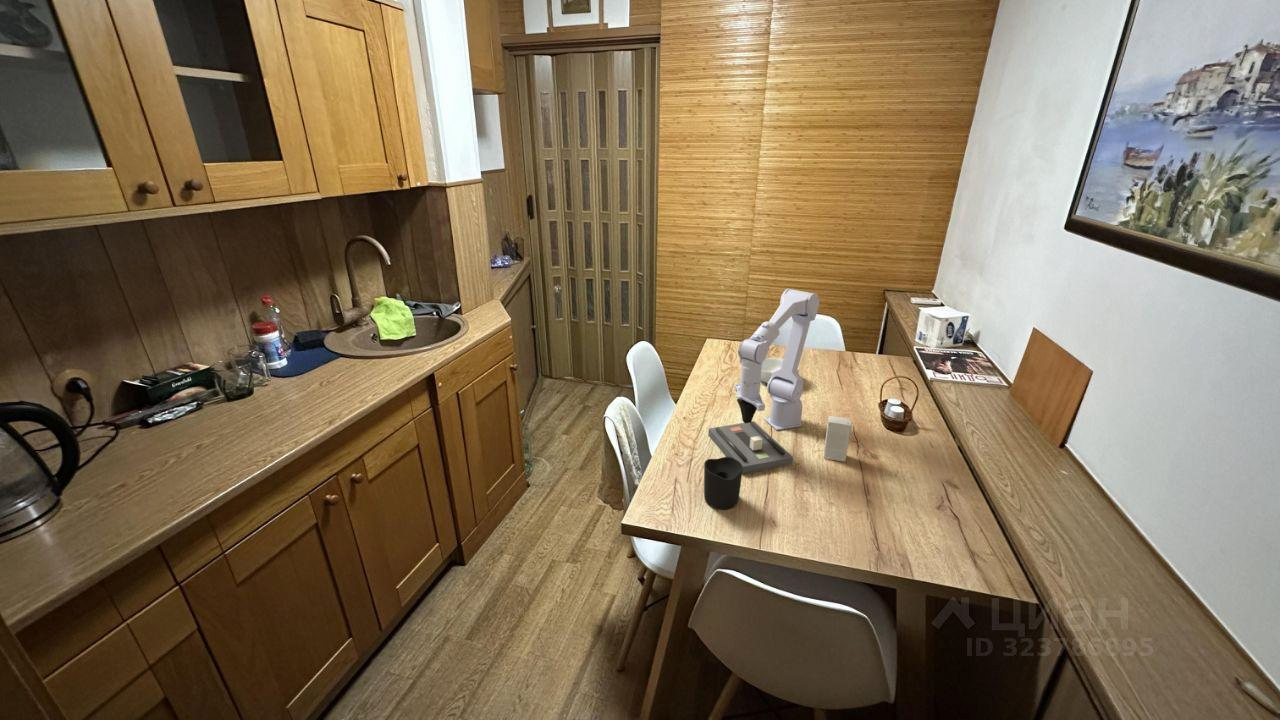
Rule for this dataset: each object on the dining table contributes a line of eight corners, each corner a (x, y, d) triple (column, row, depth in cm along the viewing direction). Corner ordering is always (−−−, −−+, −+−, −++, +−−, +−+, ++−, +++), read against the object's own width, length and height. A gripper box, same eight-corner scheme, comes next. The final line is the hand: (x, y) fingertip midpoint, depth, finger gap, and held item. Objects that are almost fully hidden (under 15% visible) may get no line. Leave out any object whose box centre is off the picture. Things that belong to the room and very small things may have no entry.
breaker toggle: (758, 445, 144) (759, 435, 143) (761, 448, 142) (762, 439, 141) (749, 446, 143) (750, 437, 142) (753, 450, 141) (753, 440, 140)
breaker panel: (753, 427, 159) (754, 417, 158) (792, 464, 140) (793, 453, 138) (708, 435, 155) (708, 425, 154) (741, 474, 135) (742, 463, 134)
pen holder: (732, 515, 120) (735, 481, 116) (696, 503, 124) (698, 470, 120) (744, 494, 127) (747, 461, 124) (710, 484, 132) (712, 452, 128)
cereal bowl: (802, 378, 195) (804, 362, 193) (790, 394, 182) (792, 377, 180) (761, 370, 204) (762, 354, 201) (746, 384, 191) (747, 367, 188)
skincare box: (844, 454, 145) (851, 418, 140) (845, 462, 141) (851, 425, 136) (823, 451, 146) (828, 415, 142) (822, 458, 143) (828, 422, 138)
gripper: (726, 372, 146) (723, 412, 152) (750, 392, 134) (746, 436, 139) (747, 369, 148) (744, 409, 153) (773, 389, 135) (768, 432, 141)
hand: (746, 421), depth 146 cm, fingers closed
